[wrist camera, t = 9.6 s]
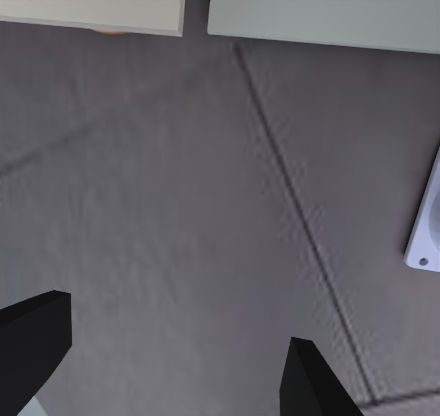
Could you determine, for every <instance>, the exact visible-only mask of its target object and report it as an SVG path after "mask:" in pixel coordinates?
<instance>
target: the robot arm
mask: <svg viewBox="0 0 440 416" xmlns="http://www.w3.org/2000/svg"><path fill="white" fill-rule="evenodd" d="M422 258H424V261H423V262H422V263H419V261H420V259H422ZM404 262H405V263H406V264H407V265H408V266H410V267H413V268H419V269H425V270H431V271H437V272H440V147H439V150H438V153H437V156H436V159H435V162H434V165H433V168H432V171H431V175H430V178H429V181H428V184H427V187H426V190H425V193H424V196H423V199H422V202H421V205H420V208H419V212H418V215H417V218H416V221H415V224H414V227H413V230H412V233H411V236H410V239H409V242H408V245H407V248H406V252H405V255H404ZM71 346H72V324H71V293H66V292H61V291H56V290H53V291H49V292H46V293H43V294H40V295H37V296H35V297H32V298H29V299H27V300H24V301H21V302H19V303H16V304H13V305H11V306H8V307H6V308H3V309H1V310H0V416H17V415H18V413H19V412H20V411H21V410H22V409H23V408H24V406H26V404H27V403H28V402H29V401H30V400H31V399H32V397H33V396H34V395H35V394H36V393H37V392H38V390H39V389H40V388H41V387H42V386H43V385H44V383H45V382H46V381H47V380H48V379H49V377H50V376H51V375H52V373H53V372H54V371H55V369H56V368H57V366H58V365H59V364H60V362H61V361H62V359H63V358H64V356H65V355H66V353H67V352H68V350H69V349H70V347H71ZM279 391H280V416H364V415H363V414H362V413H361V411H360V410H359V408H358V407H357V406H356V404H355V403H354V401H353V400H352V399H351V397H350V396H349V394H348V393H347V392H346V390H345V389H344V387H343V386H342V384H341V383H340V381H339V380H338V378H337V377H336V375H335V374H334V373H333V371H332V370H331V368H330V367H329V365H328V364H327V362H326V361H325V359H324V358H323V356H322V355H321V353H320V352H319V350H318V349H317V347H316V346H315V344H314V343H313V341H311V340H306V339H301V338H295V337H291V341H290V346H289V350H288V355H287V359H286V364H285V368H284V372H283V377H282V381H281V386H280V390H279Z"/></svg>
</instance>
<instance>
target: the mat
mask: <svg viewBox="0 0 440 416" xmlns="http://www.w3.org/2000/svg"><path fill="white" fill-rule="evenodd" d="M207 32H208V34H214V35H225V36H237V37H248V38H260V39H271V40H283V41H294V42H306V43H317V44H329V45H340V46H352V47H364V48H375V49H387V50H398V51H410V52H421V53H433V54H440V0H210V8H209V19H208V29H207Z"/></svg>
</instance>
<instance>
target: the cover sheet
mask: <svg viewBox="0 0 440 416" xmlns="http://www.w3.org/2000/svg"><path fill="white" fill-rule="evenodd" d="M184 7H185V0H0V21H11V22H22V23H34V24H45V25H56V26H67V27H78V28H90V29H101V30H112V31H123V32H135V33H146V34H157V35H168V36H180V37H182V33H183V20H184Z"/></svg>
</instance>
